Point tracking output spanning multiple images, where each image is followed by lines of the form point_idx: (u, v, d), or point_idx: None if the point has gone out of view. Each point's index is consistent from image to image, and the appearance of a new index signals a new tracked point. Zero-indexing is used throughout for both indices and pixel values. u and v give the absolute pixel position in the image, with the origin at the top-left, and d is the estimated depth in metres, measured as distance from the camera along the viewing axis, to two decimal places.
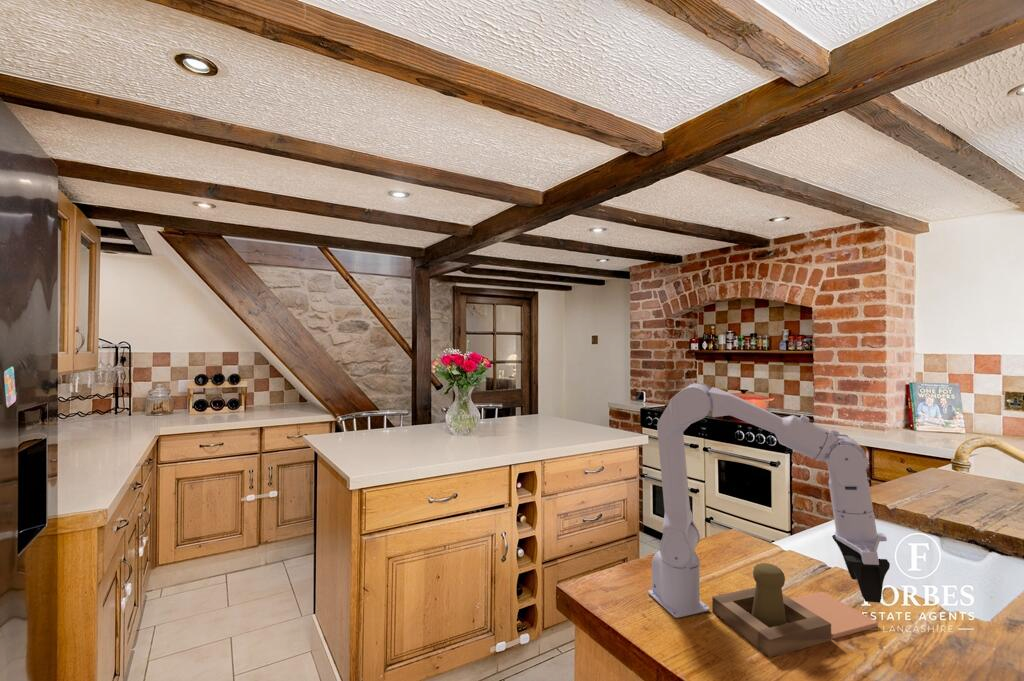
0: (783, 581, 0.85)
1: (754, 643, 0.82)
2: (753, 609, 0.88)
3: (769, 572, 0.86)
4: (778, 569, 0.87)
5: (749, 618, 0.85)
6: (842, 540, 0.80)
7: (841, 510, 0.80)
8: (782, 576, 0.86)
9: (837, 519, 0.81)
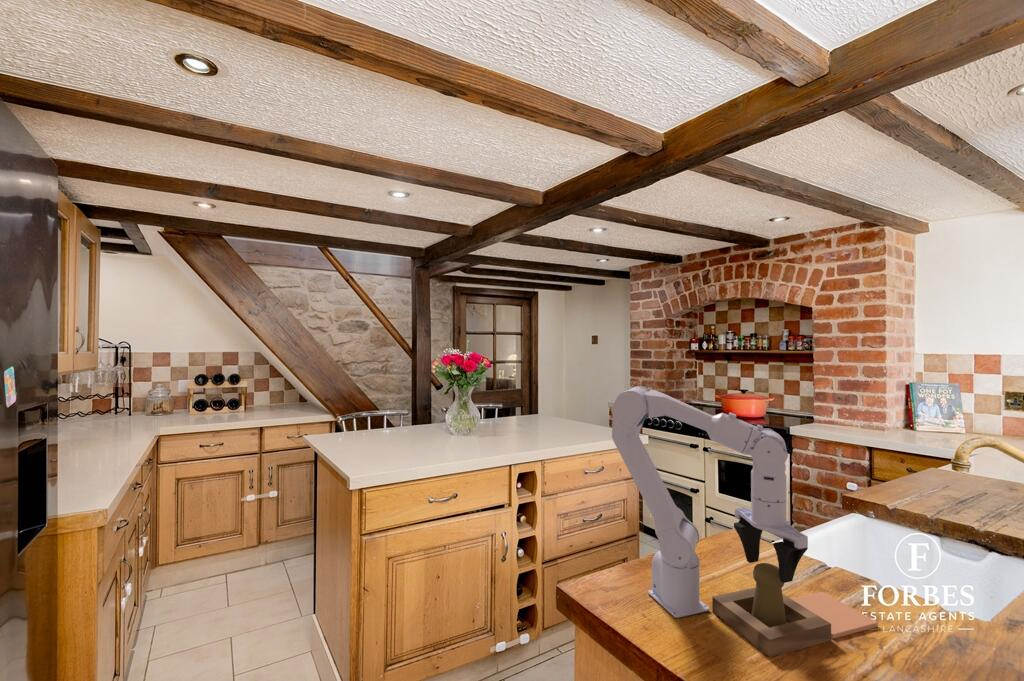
0: None
1: (754, 643, 0.82)
2: (753, 609, 0.88)
3: (769, 572, 0.86)
4: (778, 569, 0.87)
5: (749, 618, 0.85)
6: (766, 528, 0.85)
7: (757, 497, 0.86)
8: None
9: (762, 509, 0.85)
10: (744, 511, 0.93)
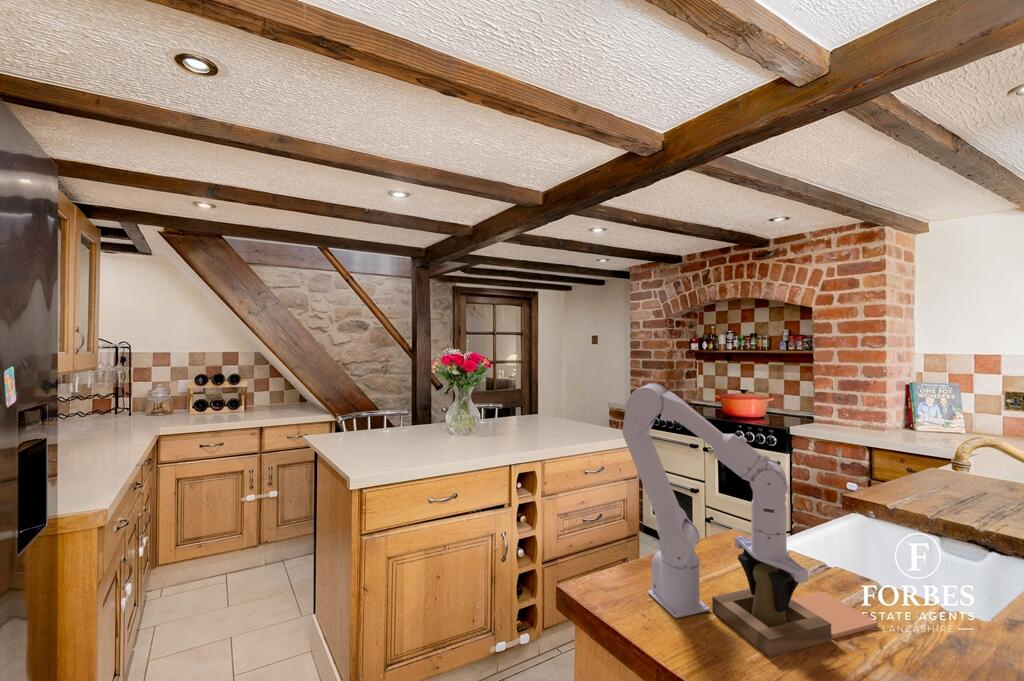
0: None
1: (754, 643, 0.82)
2: (753, 609, 0.88)
3: (769, 572, 0.86)
4: None
5: (749, 618, 0.85)
6: (766, 560, 0.85)
7: (757, 529, 0.86)
8: None
9: (762, 541, 0.85)
10: (744, 540, 0.93)
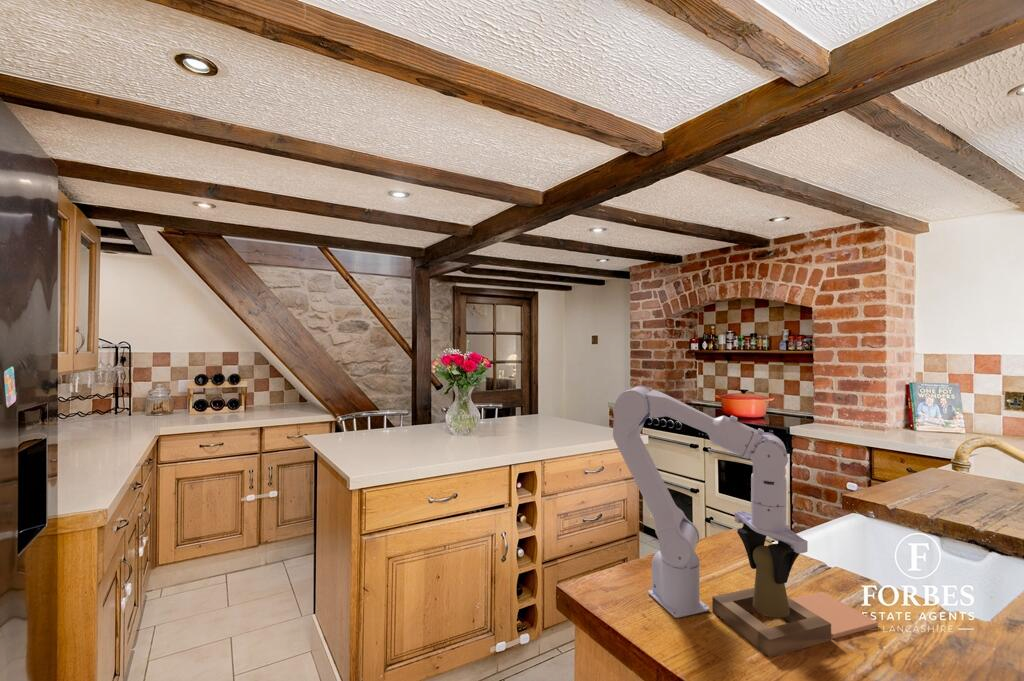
0: None
1: (754, 643, 0.82)
2: (754, 591, 0.88)
3: (768, 553, 0.86)
4: None
5: (749, 618, 0.85)
6: (766, 533, 0.85)
7: (757, 502, 0.86)
8: None
9: (762, 513, 0.85)
10: (744, 515, 0.93)
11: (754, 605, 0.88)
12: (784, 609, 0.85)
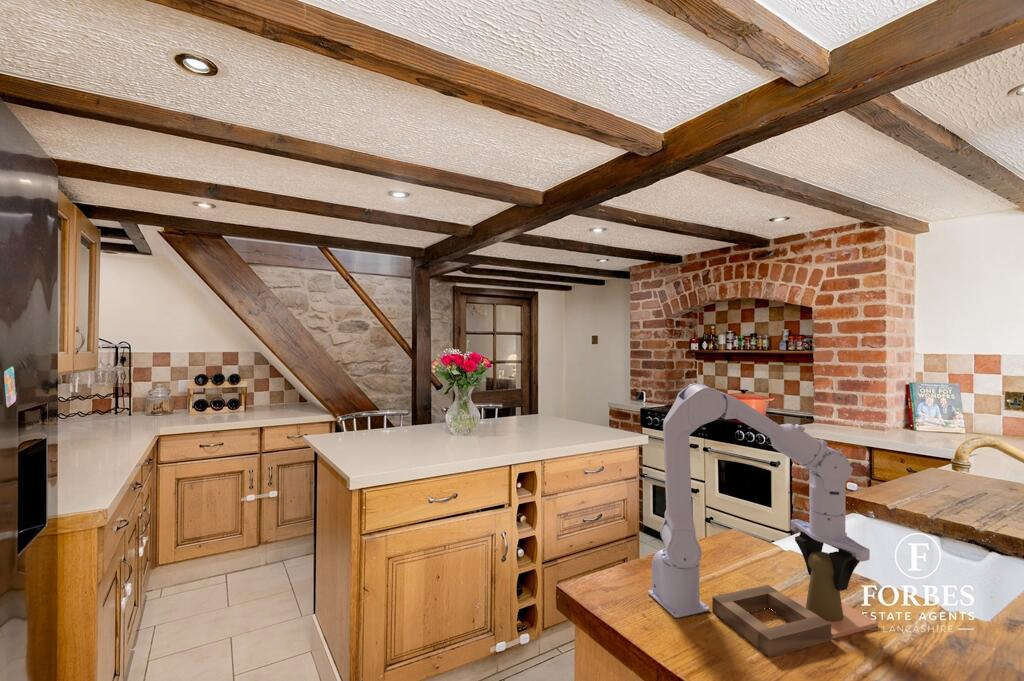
0: None
1: (754, 643, 0.82)
2: (808, 595, 0.91)
3: (825, 559, 0.89)
4: None
5: (749, 618, 0.85)
6: (827, 541, 0.88)
7: (822, 512, 0.88)
8: None
9: (822, 522, 0.88)
10: (800, 523, 0.96)
11: (808, 608, 0.91)
12: (839, 614, 0.88)
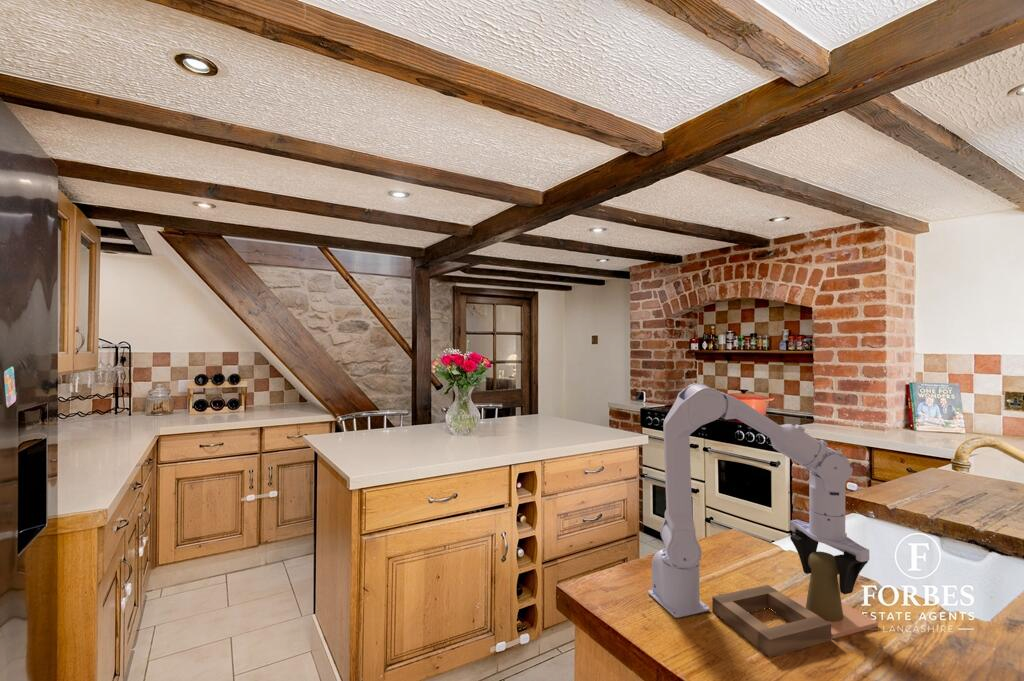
0: None
1: (754, 643, 0.82)
2: (808, 595, 0.91)
3: (825, 559, 0.89)
4: None
5: (749, 618, 0.85)
6: (827, 541, 0.88)
7: (822, 513, 0.88)
8: None
9: (822, 523, 0.88)
10: (800, 523, 0.96)
11: (808, 608, 0.91)
12: (839, 614, 0.88)
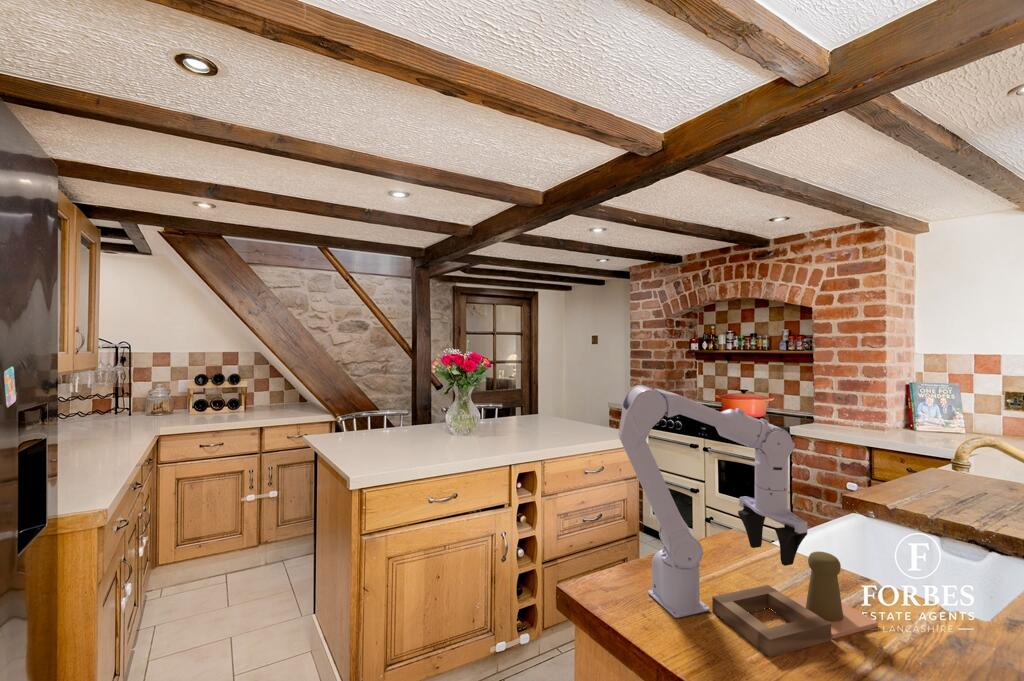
0: (839, 569, 0.88)
1: (754, 643, 0.82)
2: (808, 595, 0.91)
3: (825, 559, 0.89)
4: (834, 557, 0.89)
5: (749, 618, 0.85)
6: (769, 515, 0.90)
7: (766, 488, 0.91)
8: (838, 564, 0.88)
9: (765, 497, 0.91)
10: (748, 500, 0.98)
11: (808, 608, 0.91)
12: (839, 614, 0.88)
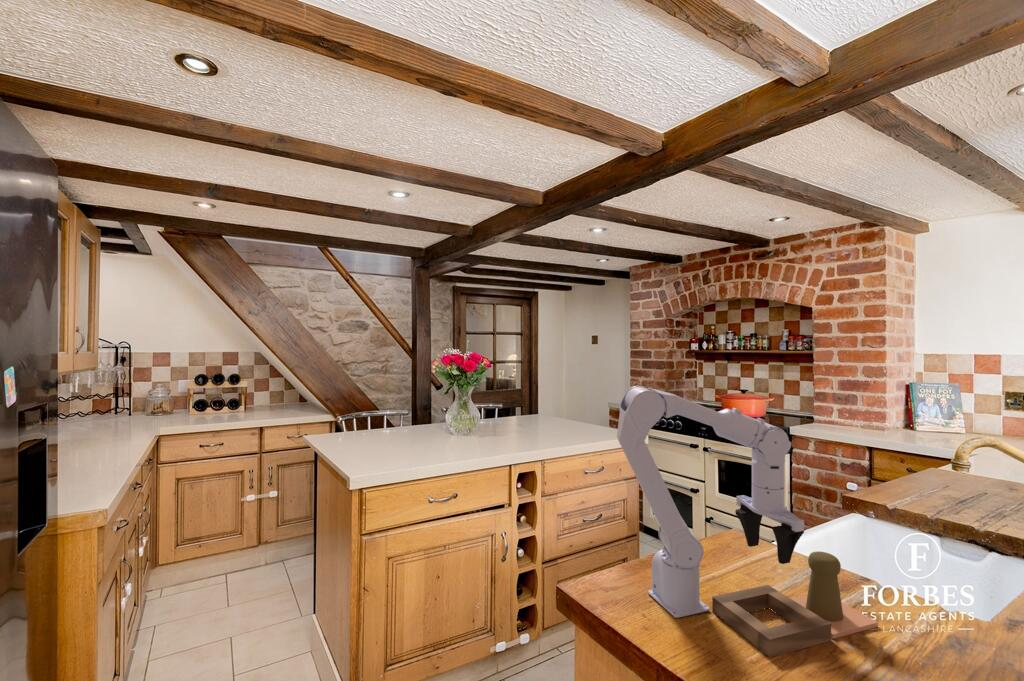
0: (839, 569, 0.88)
1: (754, 643, 0.82)
2: (808, 595, 0.91)
3: (825, 559, 0.89)
4: (834, 557, 0.89)
5: (749, 618, 0.85)
6: (766, 513, 0.91)
7: (764, 487, 0.91)
8: (838, 564, 0.88)
9: (762, 496, 0.92)
10: (745, 498, 0.99)
11: (808, 608, 0.91)
12: (839, 614, 0.88)
